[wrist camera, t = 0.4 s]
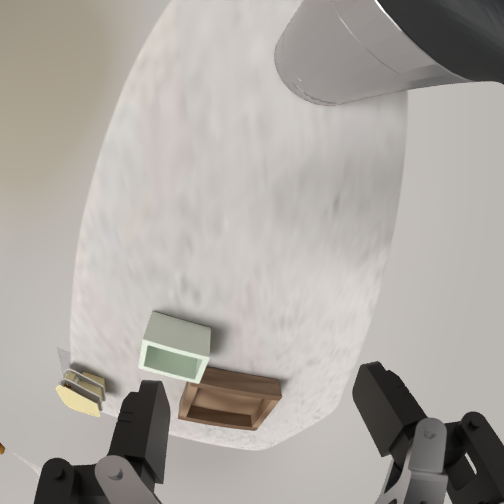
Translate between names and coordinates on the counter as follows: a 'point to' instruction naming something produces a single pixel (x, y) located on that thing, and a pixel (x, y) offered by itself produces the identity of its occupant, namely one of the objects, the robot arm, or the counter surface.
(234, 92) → the counter surface
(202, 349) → the box
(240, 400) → the big crate
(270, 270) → the counter surface
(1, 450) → the croissant
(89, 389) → the stacked layers on plate
